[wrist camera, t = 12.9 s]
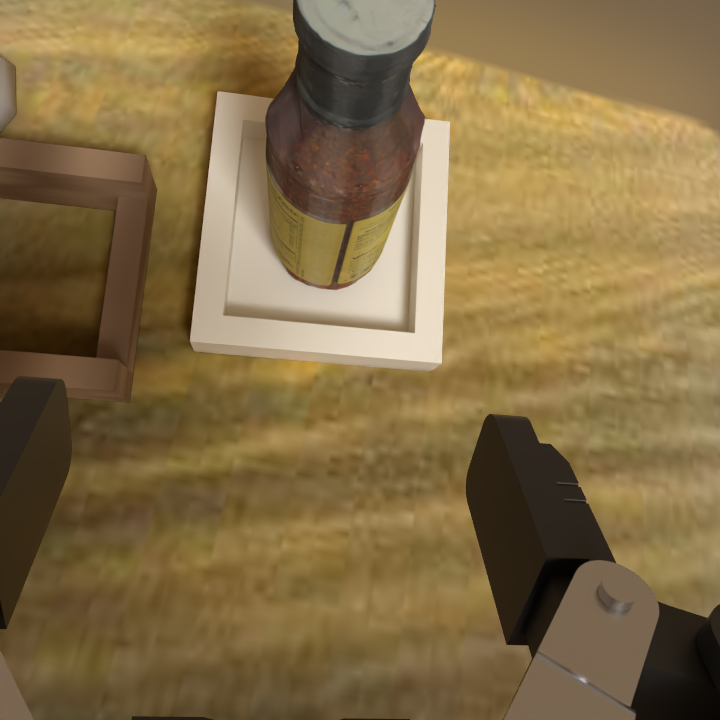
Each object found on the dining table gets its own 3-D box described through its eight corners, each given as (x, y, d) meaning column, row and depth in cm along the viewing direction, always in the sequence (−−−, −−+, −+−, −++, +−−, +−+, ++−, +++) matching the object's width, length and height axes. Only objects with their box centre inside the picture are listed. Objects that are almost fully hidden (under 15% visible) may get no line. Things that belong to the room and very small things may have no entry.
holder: (-96, 385, 34) (-142, 371, 31) (-53, 165, 37) (-90, 126, 33) (129, 402, 36) (114, 391, 32) (156, 189, 38) (145, 155, 34)
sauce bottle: (375, 190, 40) (485, -102, 20) (384, 294, 38) (508, 90, 19) (261, 190, 39) (261, -116, 19) (266, 297, 37) (271, 86, 18)
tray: (194, 351, 37) (189, 341, 34) (220, 115, 40) (217, 91, 37) (430, 371, 38) (441, 363, 36) (438, 144, 41) (449, 121, 39)
